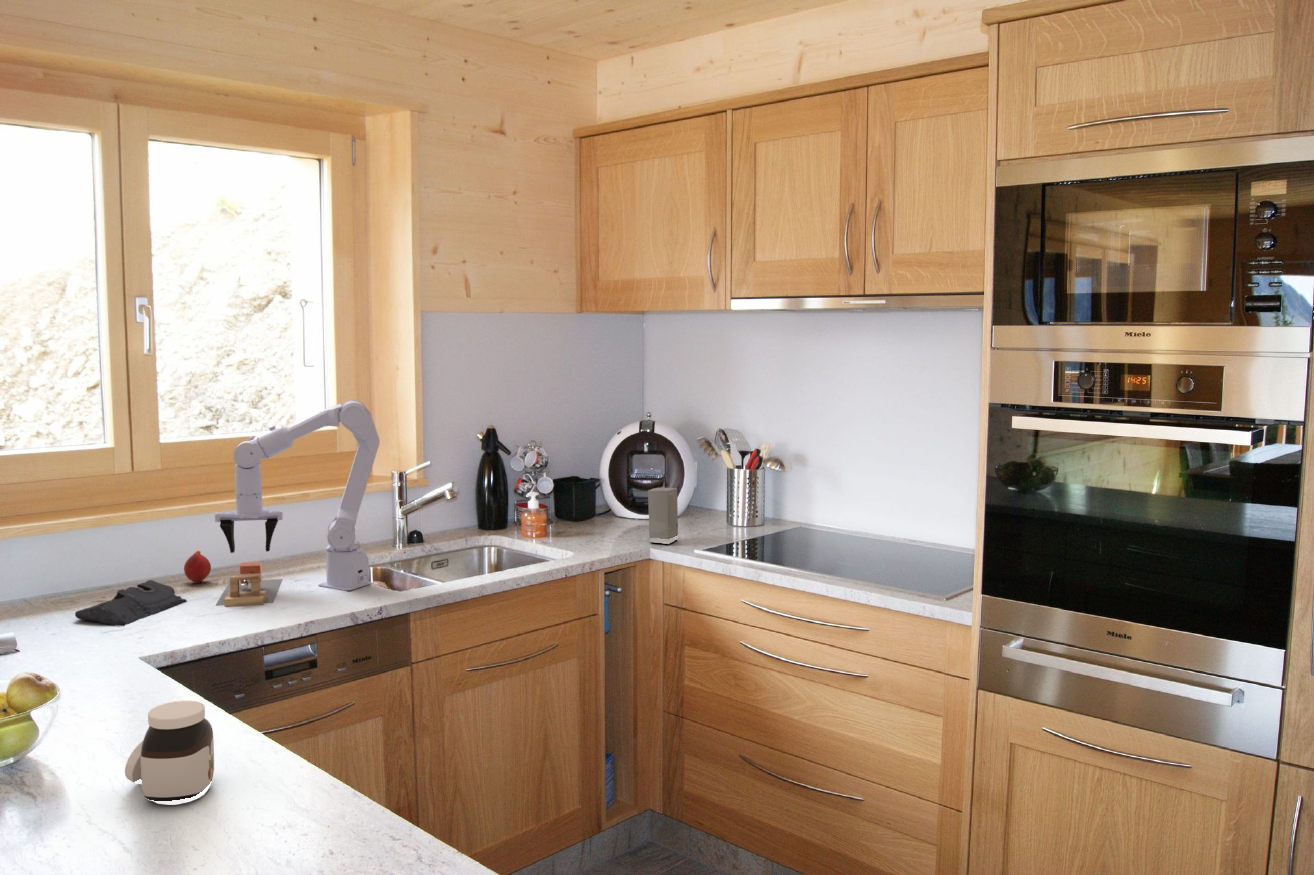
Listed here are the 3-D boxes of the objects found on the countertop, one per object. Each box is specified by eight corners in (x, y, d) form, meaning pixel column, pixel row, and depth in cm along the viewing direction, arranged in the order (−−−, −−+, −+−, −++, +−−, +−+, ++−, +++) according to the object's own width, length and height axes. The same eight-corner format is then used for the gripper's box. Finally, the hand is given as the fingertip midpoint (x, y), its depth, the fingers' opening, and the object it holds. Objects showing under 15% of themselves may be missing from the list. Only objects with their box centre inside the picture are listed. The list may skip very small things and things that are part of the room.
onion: (201, 587, 245) (199, 553, 244) (179, 585, 246) (178, 552, 245) (216, 581, 251) (215, 548, 250) (194, 579, 252) (193, 547, 251)
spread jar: (195, 811, 134) (192, 723, 133) (104, 813, 133) (100, 725, 132) (226, 771, 146) (224, 690, 145) (143, 773, 145) (139, 692, 144)
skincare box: (669, 546, 297) (670, 491, 296) (646, 543, 300) (646, 489, 298) (679, 540, 305) (680, 487, 304) (656, 538, 308) (657, 485, 306)
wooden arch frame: (263, 604, 230) (262, 577, 230) (224, 606, 228) (223, 579, 228) (266, 597, 236) (265, 571, 235) (228, 599, 234) (227, 573, 233)
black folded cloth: (61, 624, 216) (60, 601, 215) (135, 597, 237) (134, 577, 237) (125, 629, 213) (124, 607, 212) (194, 602, 234) (194, 581, 233)
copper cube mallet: (253, 596, 229) (253, 578, 229) (232, 597, 228) (232, 579, 228) (262, 578, 245) (261, 562, 244) (242, 579, 244) (241, 562, 243)
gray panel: (273, 603, 232) (273, 602, 232) (215, 606, 229) (215, 605, 229) (282, 579, 253) (282, 578, 253) (229, 582, 250) (229, 581, 250)
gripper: (212, 497, 235) (214, 556, 236) (280, 495, 238) (281, 553, 240) (217, 492, 241) (218, 549, 243) (283, 490, 245) (284, 547, 247)
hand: (250, 551), depth 242 cm, fingers open, 7 cm apart
